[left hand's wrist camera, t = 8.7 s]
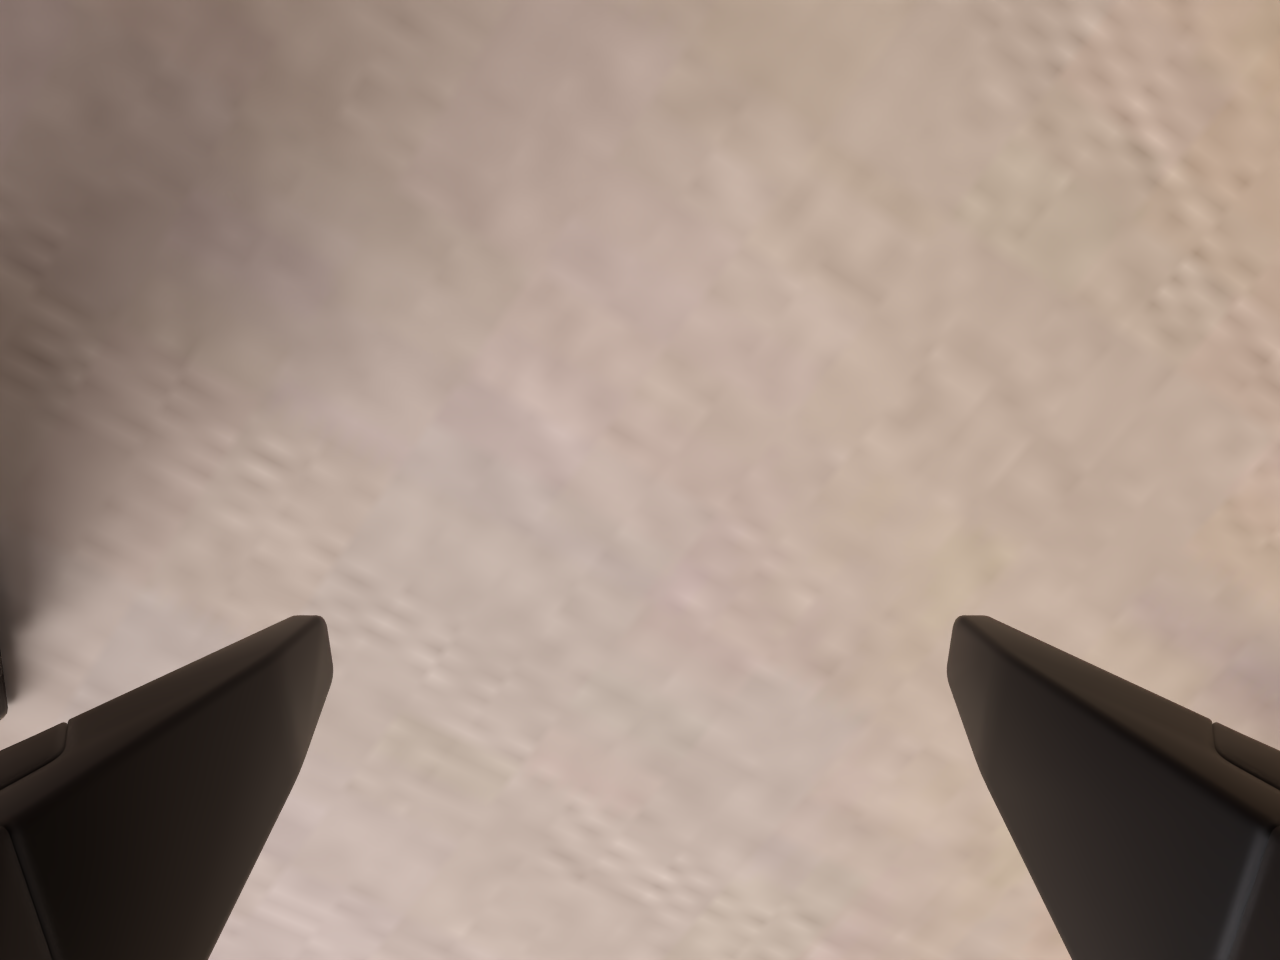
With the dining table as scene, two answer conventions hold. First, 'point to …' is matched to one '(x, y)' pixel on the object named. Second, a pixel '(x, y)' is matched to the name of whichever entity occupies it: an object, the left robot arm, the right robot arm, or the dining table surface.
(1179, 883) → the left robot arm
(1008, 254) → the dining table surface
